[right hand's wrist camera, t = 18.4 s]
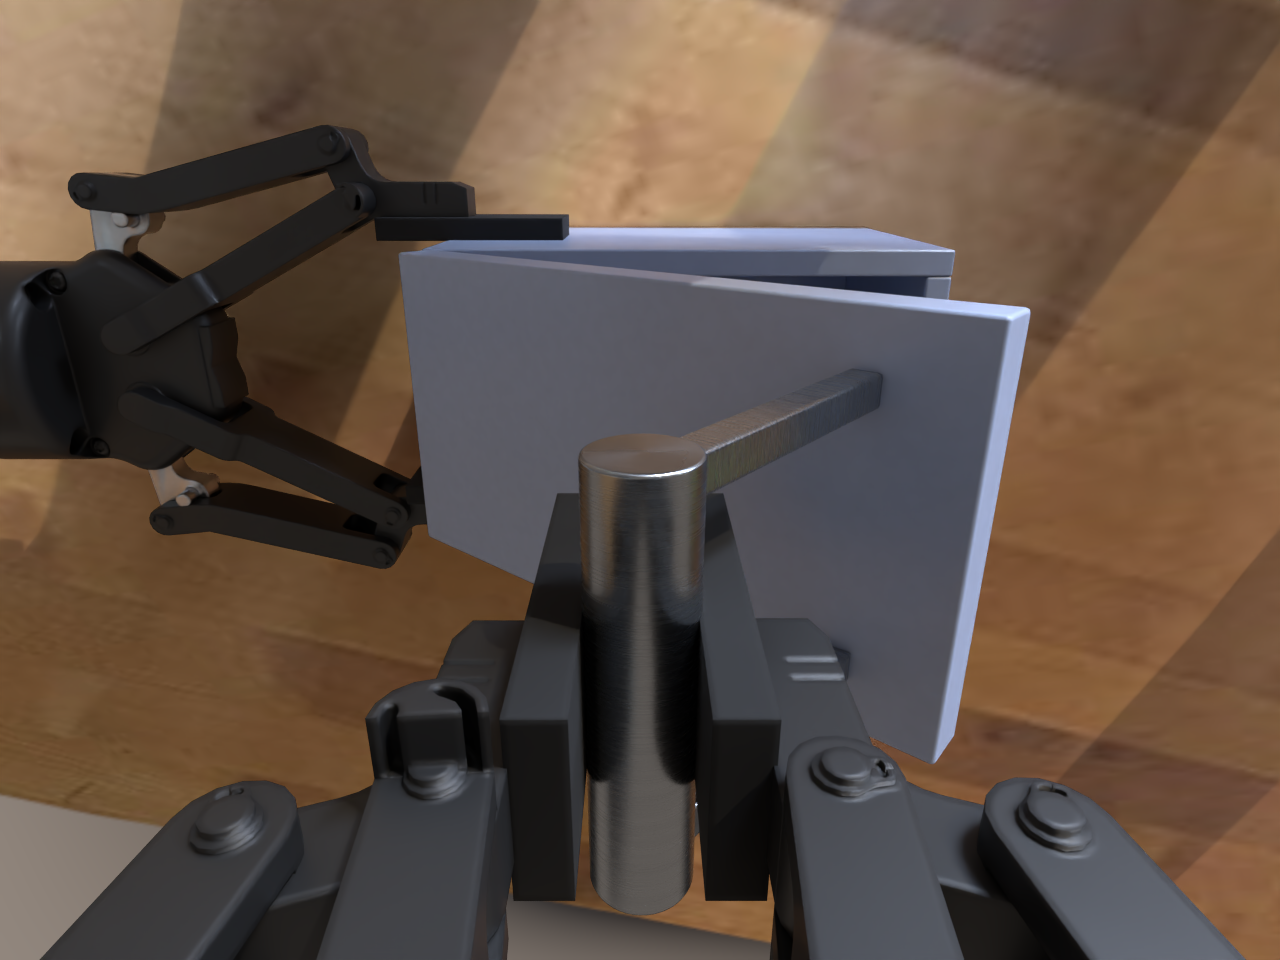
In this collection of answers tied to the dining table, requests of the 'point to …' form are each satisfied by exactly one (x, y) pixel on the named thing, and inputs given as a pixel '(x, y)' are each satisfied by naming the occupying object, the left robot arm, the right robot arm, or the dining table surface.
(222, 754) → the dining table surface
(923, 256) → the chest
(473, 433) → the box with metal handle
